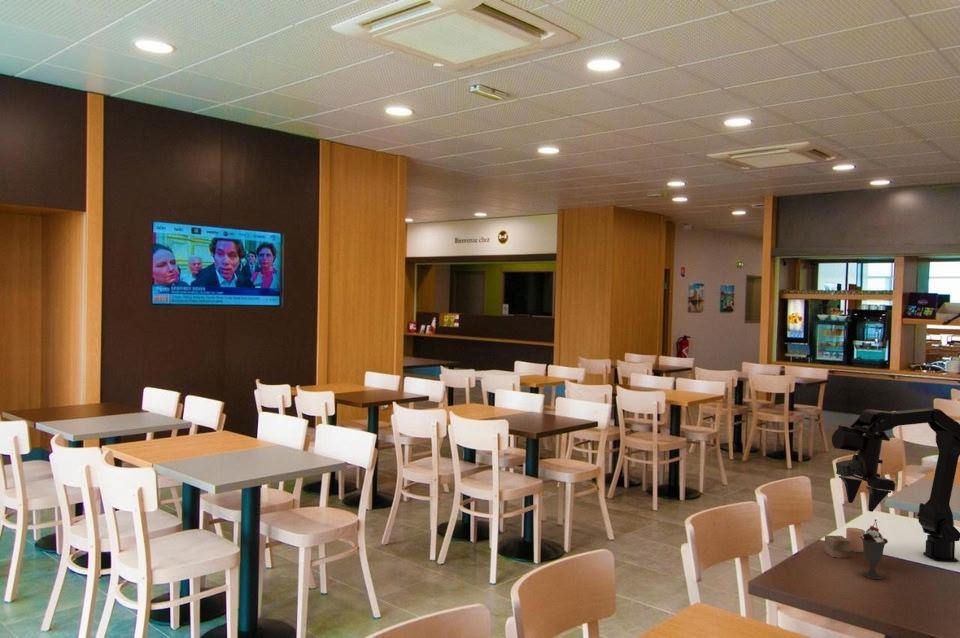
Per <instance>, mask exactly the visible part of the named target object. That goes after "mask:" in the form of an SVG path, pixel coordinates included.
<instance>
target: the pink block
mask: <svg viewBox="0 0 960 638" xmlns="http://www.w3.org/2000/svg"><path fill="white" fill-rule="evenodd" d="M845 530H846V531H845V533H846V534H845V536H846V537H845V538H846V539H848V540H849V541H850V552H851V551H854V552H853V553H856V552H863V553H864V547H863V540H862V539H861V538H860V537H861V536H863V534H865V532H866V531H865V530H864V529H862V528H860V527H859V528H858V527H847V528H846V529H845Z"/></svg>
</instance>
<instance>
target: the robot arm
mask: <svg viewBox="0 0 960 638" xmlns="http://www.w3.org/2000/svg"><path fill="white" fill-rule="evenodd" d="M918 424H920V425H921V424H928V426H929V428H930V429H931V430H932V431H933V432H934V433H935V443H936V446H937V448H938V456H937V459H936V460H937V461H936V466H935V469H934V475H933V480H932V486H931V489H930V495H929V499H928V500H927V502H925V503H922V502H920V503H919V506H918V513H917V514H916V517H918V519H917V520H918V523H919V525H920V526H921V528H922V530H923V533H924V534H927V535H926V536H927V537H926V540H925V551H923V555H925V556H927V557H928V558H931V559H933V560H934V561H937V562H959V559H958V558H956V557H955V552H956V550H955V548H956V542H960V530H958V529H957V528H956V527H955V526H954V524H953V523H954V522H953V521H954V515H953V512H952V509H951V506H950V502H951V498H952V497H951V496H952V492H953V487H954V482H955V478H956V472H957V468H958V467H957V466H958V463H959V457H960V422H958V421H957V420H955V419H954V418H952V417H951V416H948V414H946V413H945V412H944V411H943V410H942V409H940V408H935V407H929V406H928V407H925V408H916V409H908V410H907V409H906V410H896V411H895V410H894V411H886V410H876V409H869V408H868V409H864V410H862V411H861V413H860V414H859V416H858V418H857V419H856V420H854V422H853V423H852V424H851V425H850V426H845V425H841V424H839V425H838V427H837V429H836V430H835V431H834V432H833V434H832V435H831V443H832V447H833V448H834V449H837V450H842V451H848V452H849V451H850V452H857V453H856V454H855V453H854V454H853V455H852V458H851V459H846V460H841V461H837V462H835V469H836V471H835V474H837V475H838V478H840V480H842V482H843V483H844V486H845V492H846V496H847V502H848V503H849V504H852V503H854V501H855V498H856V496H857V493H858V492H859V489H860V487H861V484H862V482H863V481H864V482H866V483H867V486H866V487H865V488H866V489H867V491H868V495H869V496H868V507H867V508H868V509H867V510H868V512H871V513H873V512H874V510H876V508H877V507H878V505H880V503H882V501H883V500H884V498H886V497H887V495H888V494H891V493H892V492H895V491H896V490H895V489H896V485H897V484H896V483H895V481H894V480H892V479H890V478H887V477H883V476H882V477H881V474H880V473H878V472H879V471H878V470H879V465H880V464H883V461H884V460H883V459H880V457H881V452H882V451H881V450H882V444H883V441H884V442H885V441H887V442H890V441H891V439H890V437H889V436H888V435H887V433H886V431H889V430H893V429H894V428H896V427H899V426H909V425H918Z"/></svg>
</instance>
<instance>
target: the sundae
mask: <svg viewBox="0 0 960 638" xmlns="http://www.w3.org/2000/svg"><path fill="white" fill-rule="evenodd" d="M879 530H880V529H879V528H878V524H877V519H874V524H873V525H870V526H869V528H868V529H866V531H865V534H863V536H861V537H860V538H861V539H862V540H863V547H864V552H863V554H864V558H865V560H867V562H869V564H870V569H869V571H868V572H867V571H865V572H862V576H863V577H865V578H866V579H867V578H868V579H871V580H882V579H884V577H883V575H881V574H880V573H877V571H876V564H878V563H880V562H882V558H883V556H884V555H883V554H884V549H885V545H886V544H888V543H889V541H888V539H887V538H886V537H883V534H882V533H881V532H880V531H879Z"/></svg>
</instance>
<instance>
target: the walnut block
mask: <svg viewBox="0 0 960 638" xmlns="http://www.w3.org/2000/svg"><path fill="white" fill-rule="evenodd" d="M825 552H826V554H827V555H828V554H829V555H828V556H830V557H831V556H832V557H837V558H836V559H838V558H839V559H851V551H850V541H849V540H848V539H846V537H844V536H843V535H824V553H825ZM832 557H831V558H832Z"/></svg>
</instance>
